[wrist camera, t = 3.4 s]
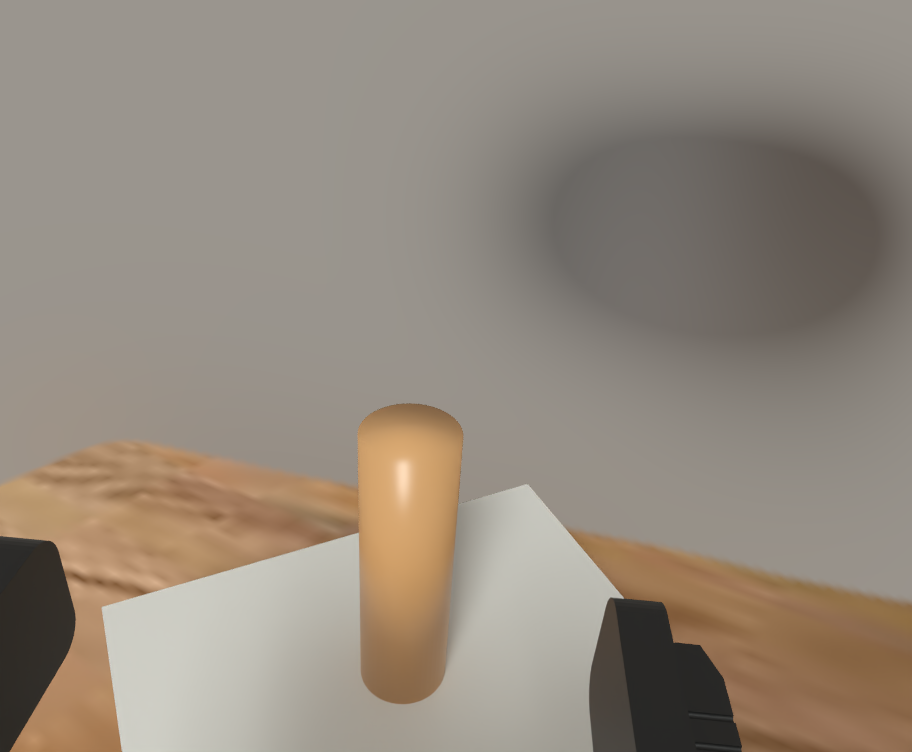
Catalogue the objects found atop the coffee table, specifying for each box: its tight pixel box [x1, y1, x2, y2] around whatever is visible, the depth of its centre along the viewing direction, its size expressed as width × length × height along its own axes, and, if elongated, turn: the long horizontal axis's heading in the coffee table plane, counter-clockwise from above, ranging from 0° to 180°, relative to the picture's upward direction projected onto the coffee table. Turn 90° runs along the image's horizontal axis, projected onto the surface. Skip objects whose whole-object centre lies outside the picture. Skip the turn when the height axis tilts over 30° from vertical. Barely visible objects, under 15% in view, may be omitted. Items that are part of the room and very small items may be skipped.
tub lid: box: [102, 404, 624, 752], centre depth 27 cm, size 20×15×14 cm
